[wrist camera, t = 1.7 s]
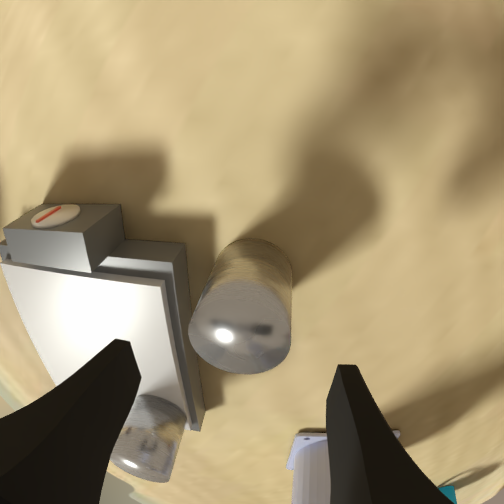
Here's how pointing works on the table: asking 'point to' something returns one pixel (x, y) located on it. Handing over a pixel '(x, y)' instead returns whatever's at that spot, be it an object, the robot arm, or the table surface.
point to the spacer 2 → (245, 309)
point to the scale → (103, 297)
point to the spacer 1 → (150, 439)
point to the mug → (449, 493)
